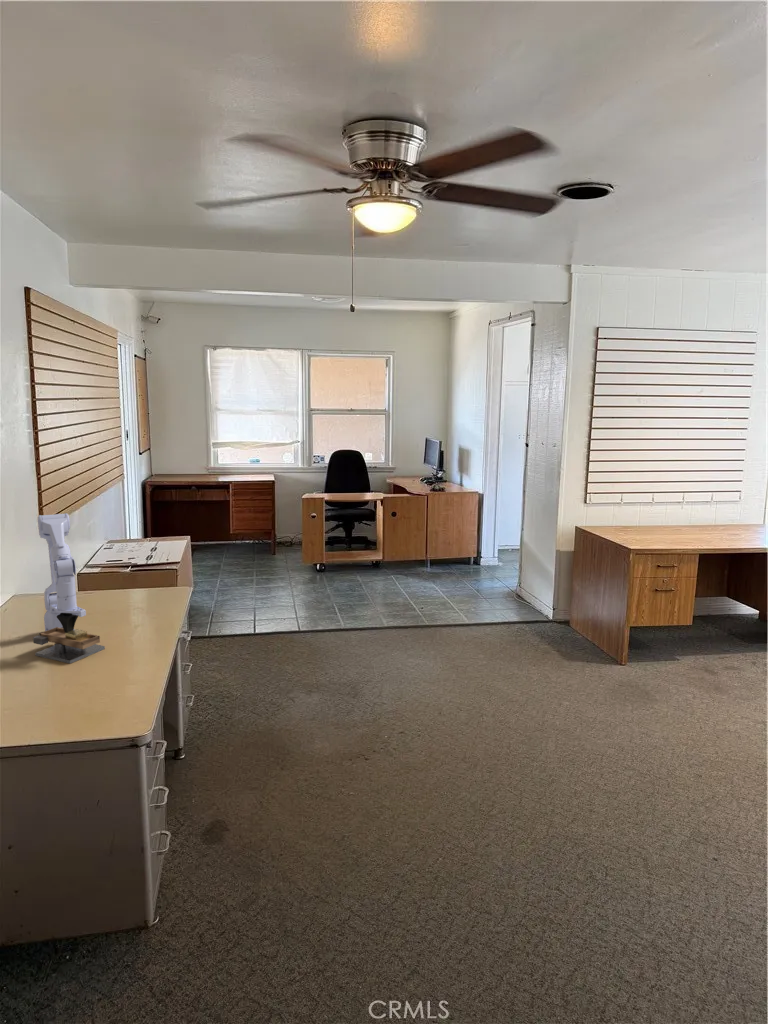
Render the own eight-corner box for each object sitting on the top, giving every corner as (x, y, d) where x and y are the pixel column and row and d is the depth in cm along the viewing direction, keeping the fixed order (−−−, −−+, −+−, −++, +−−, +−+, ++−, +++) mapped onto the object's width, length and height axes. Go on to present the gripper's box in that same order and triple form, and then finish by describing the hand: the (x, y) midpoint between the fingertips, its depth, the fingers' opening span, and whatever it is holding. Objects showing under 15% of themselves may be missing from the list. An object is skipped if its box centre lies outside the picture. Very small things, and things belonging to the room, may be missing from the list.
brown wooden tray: (33, 643, 217) (32, 635, 216) (63, 632, 227) (62, 624, 227) (76, 652, 209) (76, 645, 208) (105, 641, 219) (105, 633, 219)
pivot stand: (35, 655, 216) (34, 642, 215) (71, 641, 228) (70, 629, 228) (70, 663, 209) (69, 650, 208) (104, 648, 222) (103, 636, 221)
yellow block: (65, 640, 216) (65, 632, 215) (77, 635, 219) (76, 628, 219) (76, 642, 213) (75, 635, 213) (87, 638, 217) (87, 631, 217)
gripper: (40, 595, 215) (43, 634, 217) (71, 601, 209) (75, 641, 211) (58, 590, 221) (61, 628, 223) (89, 595, 215) (92, 634, 217)
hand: (69, 634), depth 218 cm, fingers closed
